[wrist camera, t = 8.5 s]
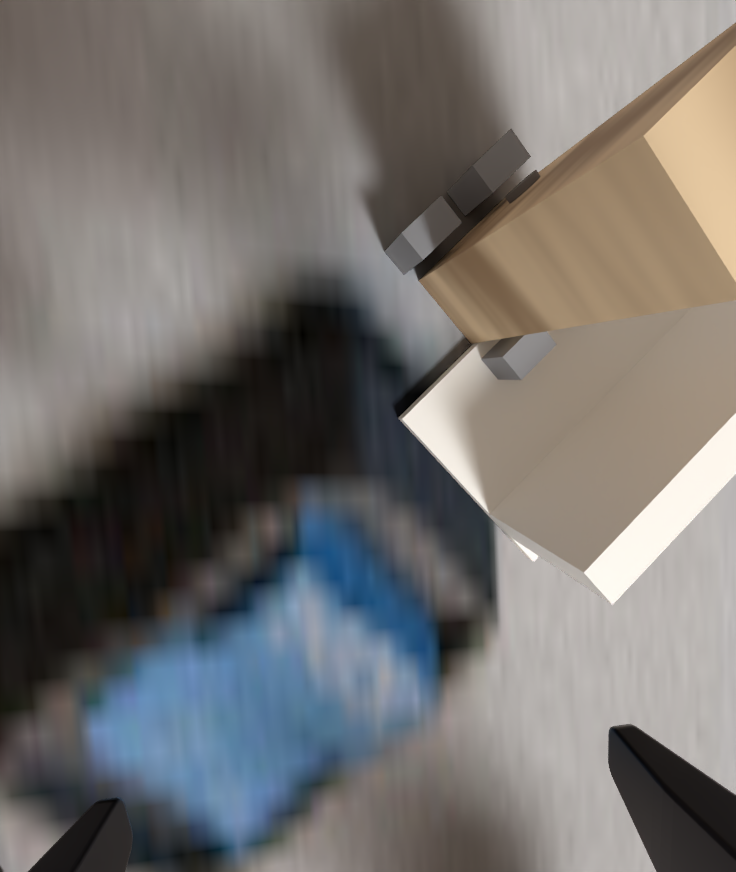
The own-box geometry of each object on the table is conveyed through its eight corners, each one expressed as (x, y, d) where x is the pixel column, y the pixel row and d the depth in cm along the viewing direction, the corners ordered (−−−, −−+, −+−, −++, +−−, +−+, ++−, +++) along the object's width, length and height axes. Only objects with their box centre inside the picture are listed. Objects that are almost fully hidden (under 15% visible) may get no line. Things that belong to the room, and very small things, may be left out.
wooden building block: (471, 343, 20) (746, 298, 9) (414, 276, 19) (635, 123, 8) (550, 265, 21) (920, 118, 9) (498, 195, 20) (832, -70, 8)
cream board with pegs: (526, 557, 22) (641, 637, 15) (310, 322, 19) (332, 290, 12) (724, 352, 23) (916, 341, 16) (550, 93, 20) (700, -59, 13)
